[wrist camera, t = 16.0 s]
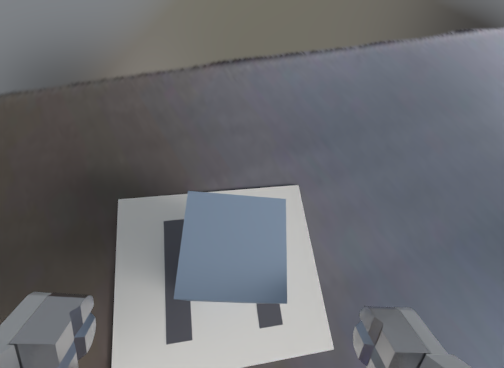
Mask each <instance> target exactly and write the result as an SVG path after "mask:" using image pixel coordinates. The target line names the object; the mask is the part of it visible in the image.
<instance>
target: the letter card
mask: <svg viewBox="0 0 504 368" xmlns="http://www.w3.org/2000/svg"><path fill="white" fill-rule="evenodd" d="M208 193H220V194H232V195H244V196H256V197H268V198H280V199H286V245H287V304H271V303H229V302H204V301H186V300H177V299H174V291H175V284H176V276H177V269H178V262H179V254H180V247H181V239H182V232H183V225H184V217H185V210H186V202H187V195H188V194H179V195H166V196H154V197H141V198H129V199H118V216H117V241H116V266H115V291H114V316H113V341H112V366H111V368H242V367H247V366H252V365H257V364H262V363H267V362H273V361H278V360H283V359H288V358H293V357H298V356H303V355H308V354H313V353H319V352H324V351H329V350H334V347H333V343H332V338H331V334H330V329H329V324H328V320H327V315H326V310H325V306H324V301H323V297H322V292H321V287H320V283H319V278H318V274H317V269H316V264H315V260H314V255H313V250H312V246H311V241H310V237H309V232H308V227H307V223H306V218H305V214H304V209H303V204H302V200H301V195H300V190H299V186H298V185H291V186H279V187H266V188H254V189H241V190H229V191H216V192H208Z"/></svg>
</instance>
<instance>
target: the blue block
mask: <svg viewBox="0 0 504 368" xmlns="http://www.w3.org/2000/svg"><path fill="white" fill-rule="evenodd" d="M174 299H177V300H186V301H204V302H229V303H271V304H287V245H286V199H280V198H268V197H256V196H244V195H232V194H220V193H208V192H196V191H188V195H187V202H186V210H185V217H184V225H183V232H182V239H181V247H180V254H179V262H178V269H177V276H176V284H175V291H174Z"/></svg>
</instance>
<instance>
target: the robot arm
mask: <svg viewBox="0 0 504 368" xmlns="http://www.w3.org/2000/svg"><path fill="white" fill-rule="evenodd" d="M93 306H94V302H93V296H90V295H80V294H65V293H44V292H33V293H31V294H29V295H27V296H26V297H25V298H24V300H23V301H22V302H21V303H20V304H19V305H18V306H17V307H16V308H15V309H14V311H13V312H12V313H11V314H10V315H9V316H8V317H7V318H6V319H5V320H4V321H3V323H2V324H1V325H0V368H78V360H79V359H80V358H82V357H83V356H84V355H86V354H87V352H88V350H89V348H90V346H91V344H92V341H93V338H94V335H95V329H96V319H95V316H94V315H93V314H92V313H91V310H92V308H93ZM359 317H360V319H361V320H362V321H361V322H359V323H358V324H357V325H356V326H355V328H354V332H353V345H354V349H355V352H356V354H357V357H358V359H359V360H360V361H361V362H362V363H363V364H365V365H366V368H472V367H470V366H469V365H467V364H466V363H464V362H463V361H462V360H460V359H459V358H457V357H456V356H454V355H449V354H448V353H447V352H446V351H445V350H444V348H443V347H442V346H441V344H440V343H439V342H438V340H437V339H436V338H435V337H434V335H433V334H432V333H431V331H430V330H429V329H428V327H427V326H426V325H425V323H424V322H423V321H422V320H421V318H420V317H419V316H418V314H417V313H416V312H415V311H414V310H413V309H411V308H410V307H375V306H364V307H363V308H362V309H361V311H360V314H359Z"/></svg>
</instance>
